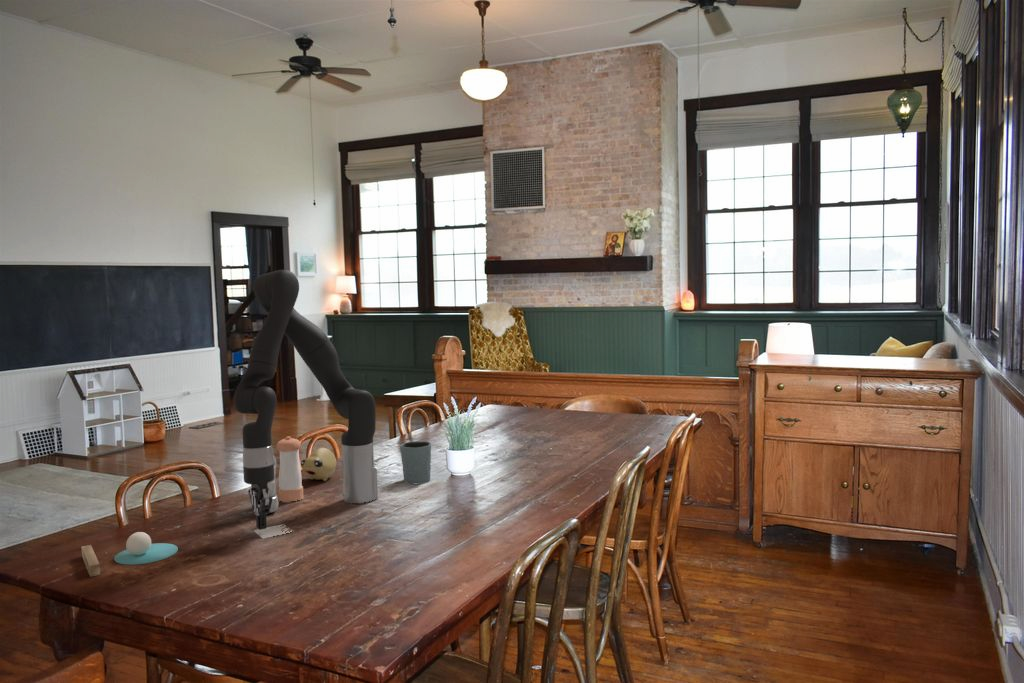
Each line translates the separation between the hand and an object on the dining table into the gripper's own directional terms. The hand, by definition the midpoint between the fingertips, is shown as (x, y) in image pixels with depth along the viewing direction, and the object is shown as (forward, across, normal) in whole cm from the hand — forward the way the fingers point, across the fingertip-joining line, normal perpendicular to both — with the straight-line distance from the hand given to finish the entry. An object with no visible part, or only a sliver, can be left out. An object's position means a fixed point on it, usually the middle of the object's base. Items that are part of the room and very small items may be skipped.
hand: (261, 528), depth 199 cm
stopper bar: (+2, +3, +39) cm, 39 cm away
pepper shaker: (+2, +27, -17) cm, 32 cm away
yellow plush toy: (+2, +43, -32) cm, 54 cm away
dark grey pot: (+2, +22, -57) cm, 61 cm away
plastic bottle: (+2, +18, -7) cm, 19 cm away
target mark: (+2, +3, +27) cm, 27 cm away
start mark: (+2, 0, -3) cm, 3 cm away
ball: (-1, +4, +28) cm, 29 cm away
